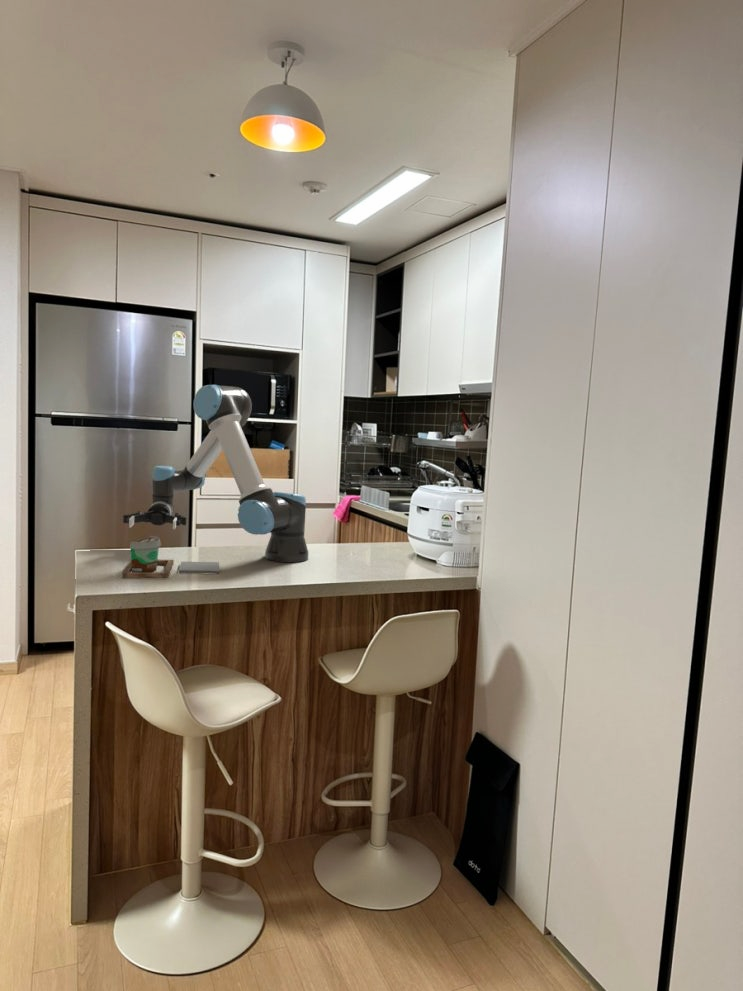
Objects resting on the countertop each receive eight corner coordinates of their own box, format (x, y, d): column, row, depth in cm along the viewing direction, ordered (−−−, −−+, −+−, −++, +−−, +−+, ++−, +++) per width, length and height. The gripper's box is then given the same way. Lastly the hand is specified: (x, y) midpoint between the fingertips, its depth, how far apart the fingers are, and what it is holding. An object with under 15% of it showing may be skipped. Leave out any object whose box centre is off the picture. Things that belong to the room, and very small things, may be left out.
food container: (147, 576, 206) (148, 543, 205) (129, 574, 208) (129, 541, 206) (167, 567, 218) (168, 536, 217) (150, 565, 220) (150, 535, 218)
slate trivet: (219, 565, 226) (219, 562, 226) (218, 573, 214) (218, 570, 214) (181, 564, 223) (181, 561, 223) (178, 573, 212) (178, 570, 212)
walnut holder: (173, 564, 223) (173, 559, 223) (167, 578, 205) (167, 573, 205) (131, 563, 221) (131, 559, 221) (122, 578, 202) (122, 573, 202)
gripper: (195, 525, 246) (191, 537, 225) (122, 522, 241) (111, 534, 220) (196, 504, 245) (192, 514, 224) (122, 501, 240) (111, 511, 219)
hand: (152, 524), depth 222 cm, fingers open, 13 cm apart
